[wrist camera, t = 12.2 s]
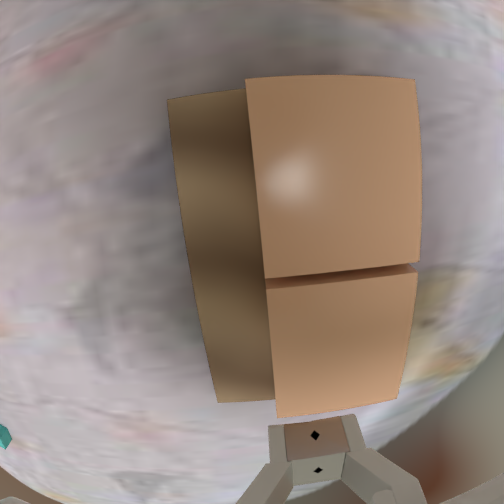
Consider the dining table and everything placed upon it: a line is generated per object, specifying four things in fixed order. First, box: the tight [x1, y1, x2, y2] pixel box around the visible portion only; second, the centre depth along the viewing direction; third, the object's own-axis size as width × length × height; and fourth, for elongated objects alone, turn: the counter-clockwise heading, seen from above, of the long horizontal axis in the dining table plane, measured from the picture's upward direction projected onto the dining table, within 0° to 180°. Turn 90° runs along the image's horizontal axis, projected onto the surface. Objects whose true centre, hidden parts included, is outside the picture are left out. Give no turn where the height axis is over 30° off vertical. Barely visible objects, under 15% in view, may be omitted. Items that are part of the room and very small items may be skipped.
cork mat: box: [167, 88, 276, 403], centre depth 16 cm, size 17×11×1 cm, turn 6°
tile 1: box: [245, 75, 422, 279], centre depth 13 cm, size 8×2×7 cm
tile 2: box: [265, 263, 418, 418], centre depth 16 cm, size 8×2×7 cm
